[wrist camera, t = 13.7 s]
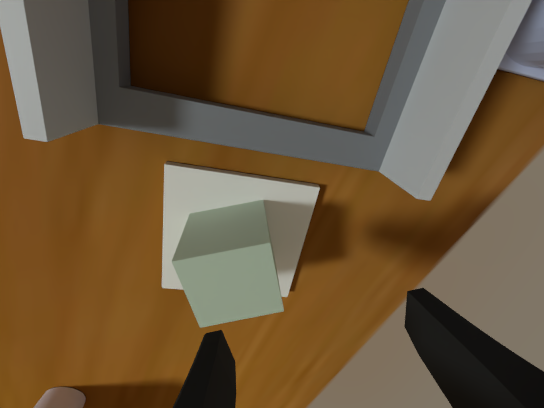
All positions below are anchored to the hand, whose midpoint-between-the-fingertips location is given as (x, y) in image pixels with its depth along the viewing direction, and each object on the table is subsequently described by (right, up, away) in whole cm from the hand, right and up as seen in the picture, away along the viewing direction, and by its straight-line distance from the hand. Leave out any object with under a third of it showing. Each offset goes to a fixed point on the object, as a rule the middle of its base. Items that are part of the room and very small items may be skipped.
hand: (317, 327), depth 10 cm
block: (-4, +2, +9) cm, 10 cm away
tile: (-4, +2, +9) cm, 11 cm away
